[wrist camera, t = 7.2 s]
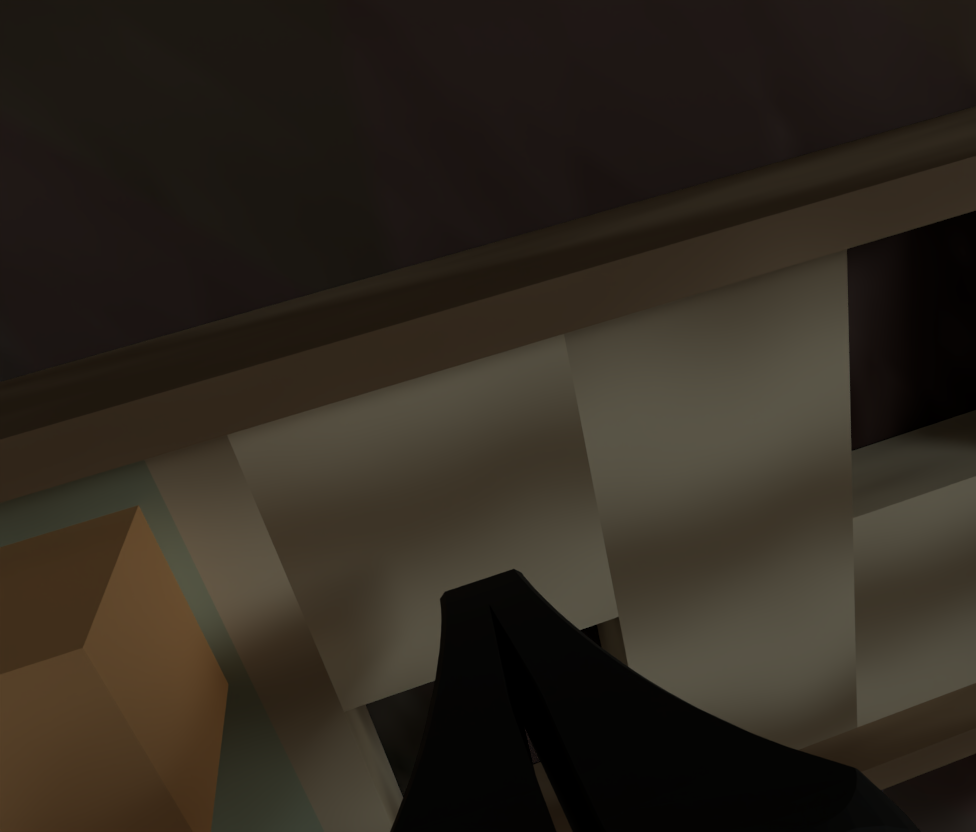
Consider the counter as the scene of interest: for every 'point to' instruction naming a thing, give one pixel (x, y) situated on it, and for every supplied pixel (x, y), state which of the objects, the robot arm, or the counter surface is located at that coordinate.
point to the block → (104, 686)
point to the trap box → (549, 479)
